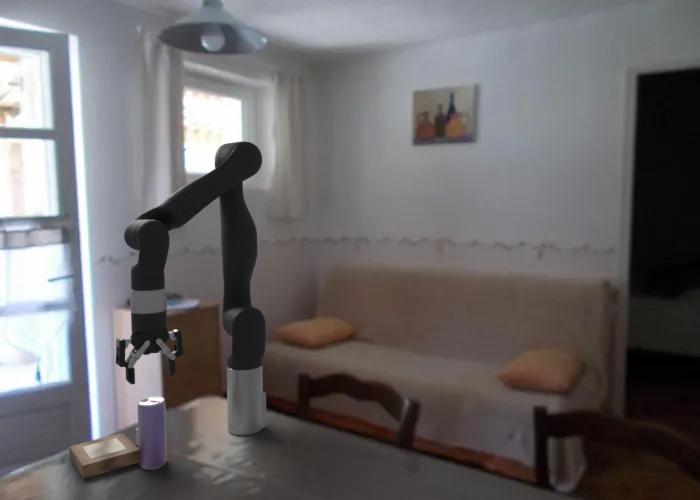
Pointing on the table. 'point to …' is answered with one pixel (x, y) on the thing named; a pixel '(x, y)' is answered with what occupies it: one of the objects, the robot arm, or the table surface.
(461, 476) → the table surface
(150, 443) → the beverage can
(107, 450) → the walnut slab
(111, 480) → the table surface
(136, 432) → the sage cube
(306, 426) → the table surface
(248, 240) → the robot arm
